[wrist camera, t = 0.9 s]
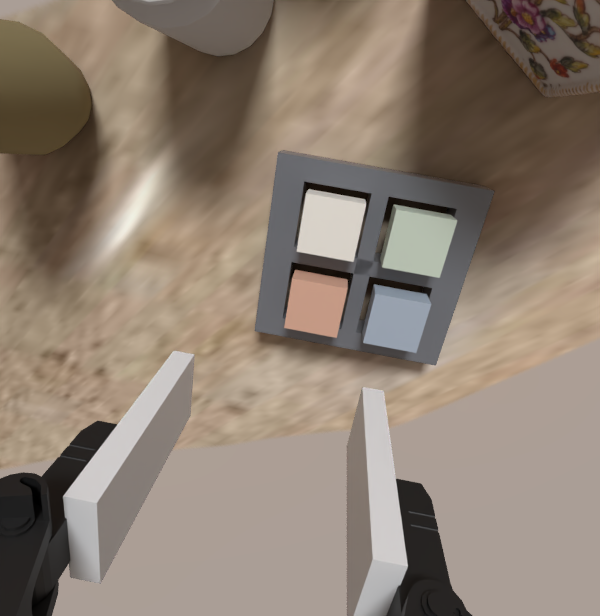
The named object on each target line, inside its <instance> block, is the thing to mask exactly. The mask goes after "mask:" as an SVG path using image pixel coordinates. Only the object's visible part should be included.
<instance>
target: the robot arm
mask: <svg viewBox="0 0 600 616" xmlns="http://www.w3.org/2000/svg"><path fill="white" fill-rule="evenodd" d="M194 355H195V354H189V353H184V352H179V351H173V352H172V354H171V355H170V356H169V358H168V359H167V360H166V362H165V363H164V364H163V365H162V367H161V368H160V369H159V371H158V372H157V373H156V375H155V376H154V377H153V379H152V380H151V381H150V383H149V384H148V385H147V387H146V388H145V389H144V390H143V392H142V393H141V394H140V396H139V397H138V398H137V400H136V401H135V402H134V404H133V405H132V406H131V408H130V409H129V410H128V412H127V413H126V414H125V415H124V417H123V418H122V419H121V421H120V422H119V423H118V425H117V424H112V423H107V422H102V421H96V422H95V423H93V424H92V425H90V426H88V427H87V428H85V429H83V430H82V431H81V432H80V433H79V434H78V435H77V436H76V437H75V439H74V440H73V441H72V442H71V443H70V446H68V447H67V448H66V449H65V450H64V451H63V452H62V454H61V456H60V457H58V458H57V459H56V461H55V462H54V463H53V464H52V465H51V466H50V468H49V469H48V470H47V471H46V472H45V473H44V474H43V476H42V477H41V476H39V475H37V474H33V473H18V474H12V475H9V476H6V477H3V478H1V479H0V616H52V613H53V609H54V606H55V602H56V599H57V595H58V586H59V584H58V579H59V578H60V576H61V575H62V573H63V571H64V570H65V568H66V567H67V565H68V564H69V568H70V577H71V578H76V579H81V580H85V581H90V582H95V583H101V582H102V580H103V578H104V576H105V574H106V572H107V570H108V569H109V567H110V565H111V563H112V561H113V559H114V557H115V555H116V553H117V552H118V550H119V548H120V546H121V544H122V542H123V541H124V539H125V537H126V535H127V533H128V531H129V529H130V527H131V525H132V524H133V522H134V520H135V518H136V516H137V514H138V512H139V511H140V509H141V507H142V505H143V503H144V501H145V499H146V498H147V495H148V494H149V492H150V490H151V488H152V486H153V484H154V482H155V481H156V479H157V477H158V475H159V473H160V471H161V470H162V468H163V465H164V464H165V462H166V460H167V458H168V456H169V454H170V453H171V451H172V449H173V447H174V445H175V443H176V441H177V440H178V438H179V436H180V434H181V432H182V430H183V428H184V426H185V425H186V423H187V421H188V419H189V417H190V413H191V399H192V384H193V370H194ZM347 616H472V615H471V614H470V613H469V612H468V611H467V610H466V608H465V606H464V604H463V602H462V600H461V599H460V598H459V597H458V596H457V595H456V593H455V592H454V591H453V589H452V586H451V584H450V580H449V576H448V571H447V566H446V562H445V557H444V553H443V549H442V544H441V540H440V535H439V533H438V527H437V522H436V519H435V513H434V509H433V504H432V500H431V498H430V496H429V495H428V494H427V492H426V490H425V489H424V487H423V486H422V484H420V483H415V482H410V481H405V480H400V479H396V477H395V470H394V462H393V455H392V449H391V441H390V433H389V426H388V419H387V412H386V405H385V397H384V391H381V390H376V389H371V388H366V387H362V390H361V394H360V398H359V402H358V406H357V409H356V413H355V417H354V421H353V425H352V428H351V432H350V436H349V440H348V444H347Z"/></svg>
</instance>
